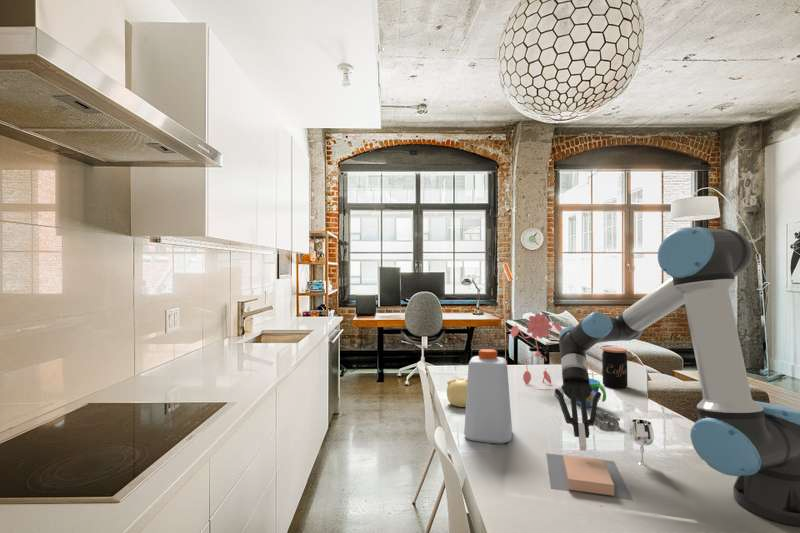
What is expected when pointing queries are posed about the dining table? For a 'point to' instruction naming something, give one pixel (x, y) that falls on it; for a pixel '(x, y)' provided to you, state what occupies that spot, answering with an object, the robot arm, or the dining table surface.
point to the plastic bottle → (488, 399)
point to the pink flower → (540, 329)
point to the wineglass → (641, 434)
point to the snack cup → (595, 387)
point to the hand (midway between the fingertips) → (583, 448)
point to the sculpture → (457, 392)
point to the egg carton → (602, 418)
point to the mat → (560, 483)
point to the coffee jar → (614, 367)
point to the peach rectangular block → (587, 475)
